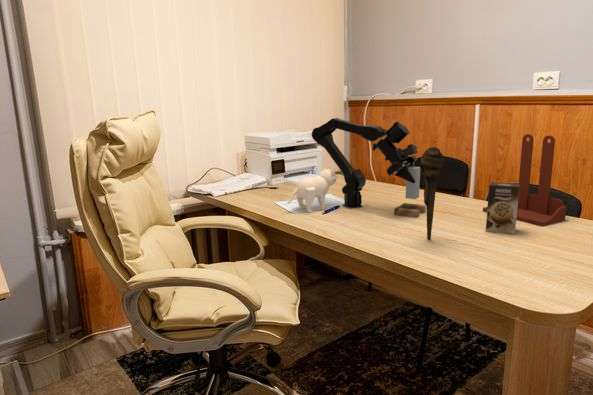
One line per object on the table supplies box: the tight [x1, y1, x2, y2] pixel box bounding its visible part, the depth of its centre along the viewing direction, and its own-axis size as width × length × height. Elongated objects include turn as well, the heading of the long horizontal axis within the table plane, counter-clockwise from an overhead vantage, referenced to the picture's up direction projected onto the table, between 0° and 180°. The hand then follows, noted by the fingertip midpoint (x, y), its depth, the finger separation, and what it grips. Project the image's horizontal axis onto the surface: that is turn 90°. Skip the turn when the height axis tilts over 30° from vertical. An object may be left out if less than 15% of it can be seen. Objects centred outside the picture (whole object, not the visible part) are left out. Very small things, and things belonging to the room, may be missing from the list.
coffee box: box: [484, 181, 520, 235], centre depth 142 cm, size 9×6×16 cm
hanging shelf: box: [482, 133, 567, 227], centre depth 156 cm, size 24×13×30 cm, turn 27°
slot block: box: [393, 202, 427, 219], centre depth 168 cm, size 9×10×2 cm
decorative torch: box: [420, 146, 445, 241], centre depth 134 cm, size 7×7×30 cm
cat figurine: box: [285, 167, 338, 213], centre depth 178 cm, size 25×10×17 cm, turn 115°
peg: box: [405, 166, 421, 200], centre depth 165 cm, size 4×4×12 cm
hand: (416, 181), depth 164 cm, fingers closed on peg, 4 cm apart
